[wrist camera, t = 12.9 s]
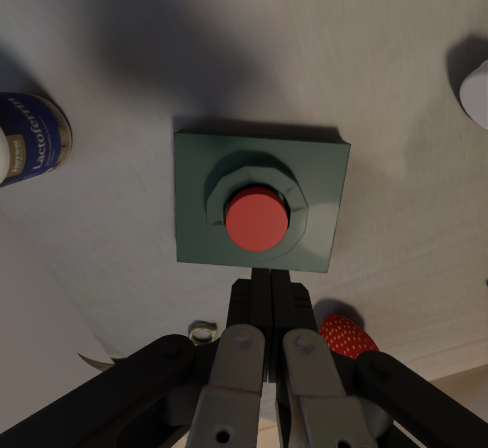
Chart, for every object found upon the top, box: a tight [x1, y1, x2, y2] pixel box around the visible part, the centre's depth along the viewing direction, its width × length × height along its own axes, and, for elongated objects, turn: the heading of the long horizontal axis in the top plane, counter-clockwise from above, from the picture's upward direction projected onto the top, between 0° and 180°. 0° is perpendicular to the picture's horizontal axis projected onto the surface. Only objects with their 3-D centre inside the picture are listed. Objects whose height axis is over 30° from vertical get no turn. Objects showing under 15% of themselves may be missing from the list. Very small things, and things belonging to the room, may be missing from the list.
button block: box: [174, 129, 351, 273], centre depth 23 cm, size 12×10×4 cm
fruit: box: [319, 315, 379, 359], centre depth 28 cm, size 5×5×8 cm
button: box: [226, 187, 288, 251], centre depth 21 cm, size 4×4×2 cm
